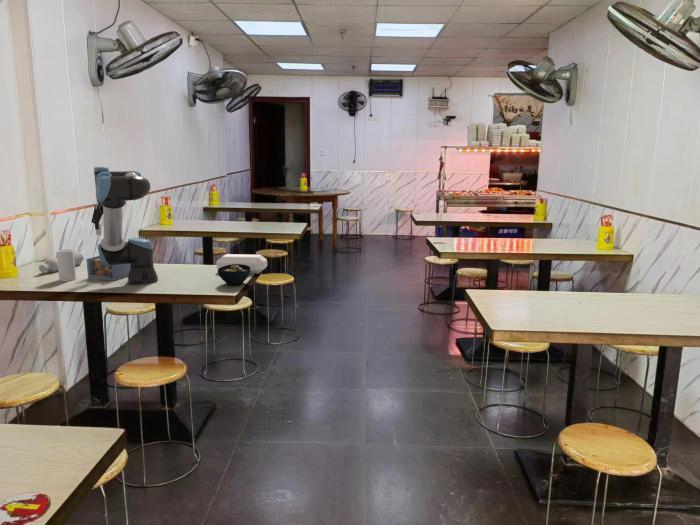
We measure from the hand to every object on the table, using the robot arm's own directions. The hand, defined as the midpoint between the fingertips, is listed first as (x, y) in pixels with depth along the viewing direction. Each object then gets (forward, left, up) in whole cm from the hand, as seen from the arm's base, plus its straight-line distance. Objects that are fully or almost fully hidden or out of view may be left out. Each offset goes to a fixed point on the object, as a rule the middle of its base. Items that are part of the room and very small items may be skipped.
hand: (107, 233), depth 303 cm
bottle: (+37, -3, -24) cm, 45 cm away
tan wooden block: (-3, +7, -24) cm, 25 cm away
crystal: (-68, -28, -24) cm, 78 cm away
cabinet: (-3, +3, -24) cm, 24 cm away
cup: (+14, +17, -24) cm, 32 cm away
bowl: (-78, 0, -24) cm, 81 cm away
